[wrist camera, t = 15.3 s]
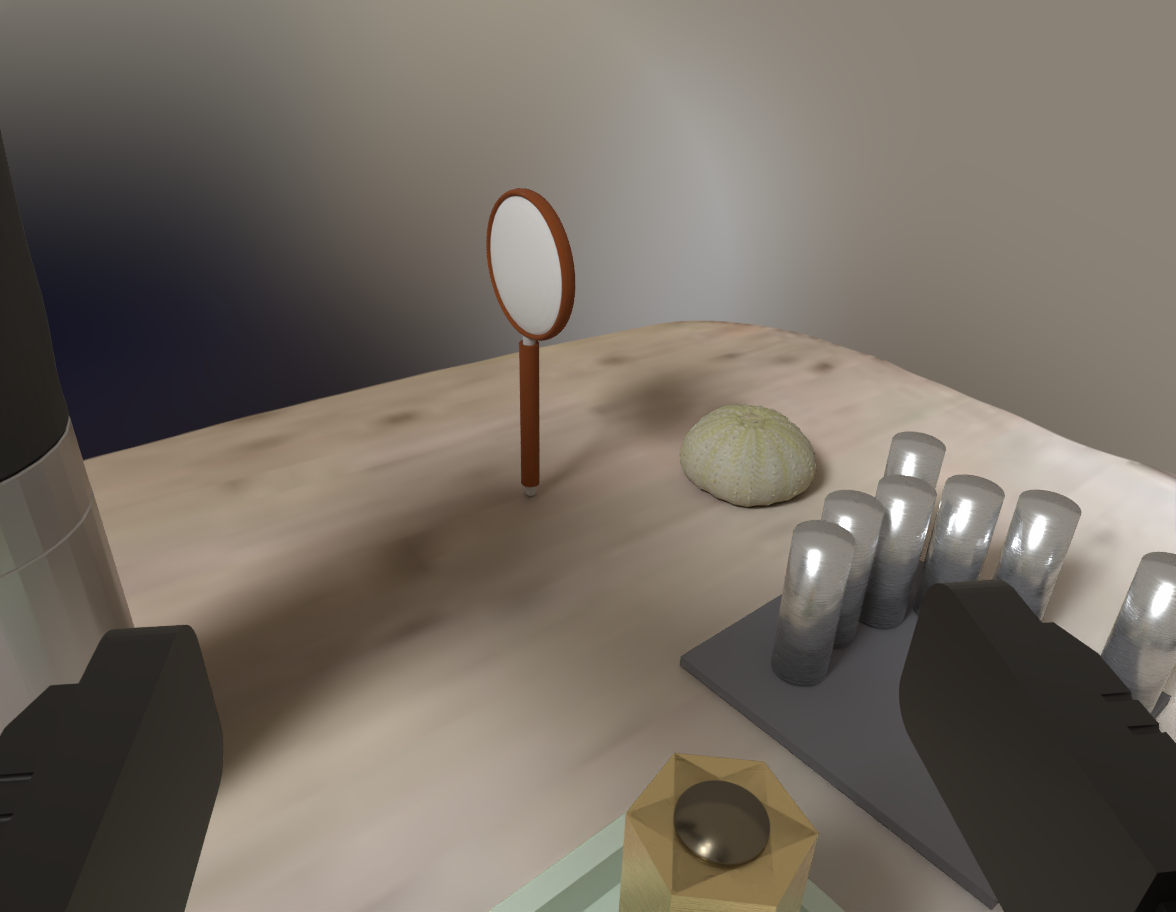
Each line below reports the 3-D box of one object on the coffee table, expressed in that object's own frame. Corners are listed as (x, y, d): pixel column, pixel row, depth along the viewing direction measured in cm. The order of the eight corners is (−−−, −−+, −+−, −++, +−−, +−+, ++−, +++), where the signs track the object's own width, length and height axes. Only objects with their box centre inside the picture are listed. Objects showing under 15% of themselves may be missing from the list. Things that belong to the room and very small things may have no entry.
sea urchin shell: (811, 424, 65) (829, 388, 57) (803, 530, 63) (820, 507, 55) (686, 411, 66) (687, 374, 58) (674, 515, 64) (673, 491, 56)
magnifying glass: (487, 470, 61) (476, 175, 51) (508, 463, 62) (502, 172, 52) (555, 531, 55) (557, 210, 45) (577, 522, 56) (585, 206, 46)
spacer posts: (725, 639, 46) (743, 512, 42) (883, 541, 54) (910, 426, 50) (1027, 858, 36) (1089, 715, 31) (1168, 695, 44) (1231, 565, 39)
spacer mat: (679, 665, 45) (680, 656, 45) (874, 544, 55) (875, 536, 55) (991, 909, 34) (995, 900, 34) (1166, 705, 44) (1171, 696, 43)
